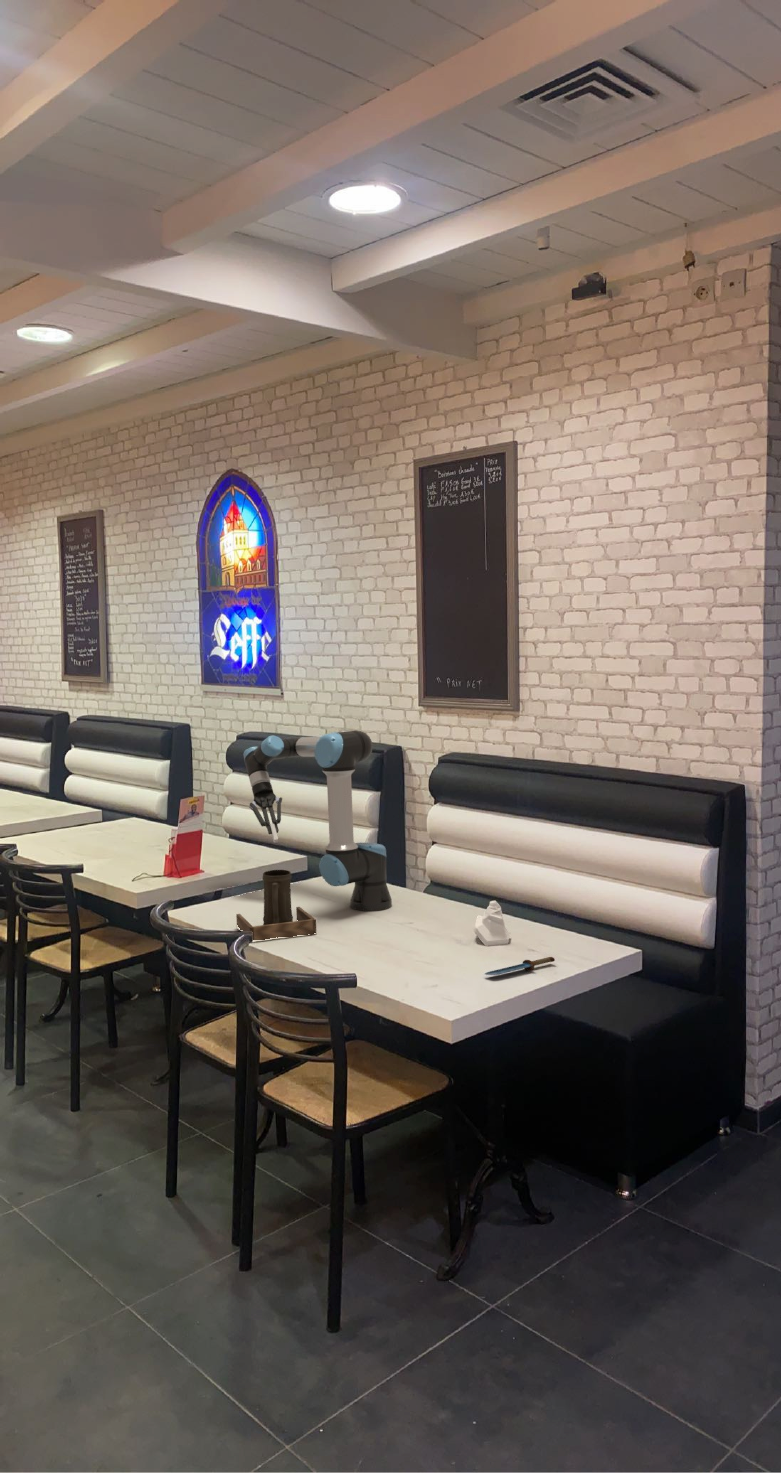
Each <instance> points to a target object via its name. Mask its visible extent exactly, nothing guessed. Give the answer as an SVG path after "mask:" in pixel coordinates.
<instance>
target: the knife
mask: <svg viewBox="0 0 781 1473" xmlns="http://www.w3.org/2000/svg"><path fill="white" fill-rule="evenodd" d="M555 961H556V960H555V957H553V956H549V957H548V956H547V957H544V958H540V959H536V960H530V959H524V960H523V961H522V963H521V964H516V965H512V966H508V967H504V968H500V969H494V970H490V971H487V972H485V973H484V975H486V976H487V975H488V976H498V975H503V974H506V973H509V972H514V971H519V970H524V969H525V970H527V971H532V970H534V969H535V966H539V965H543V964H548V963H553V962H555Z"/></svg>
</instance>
